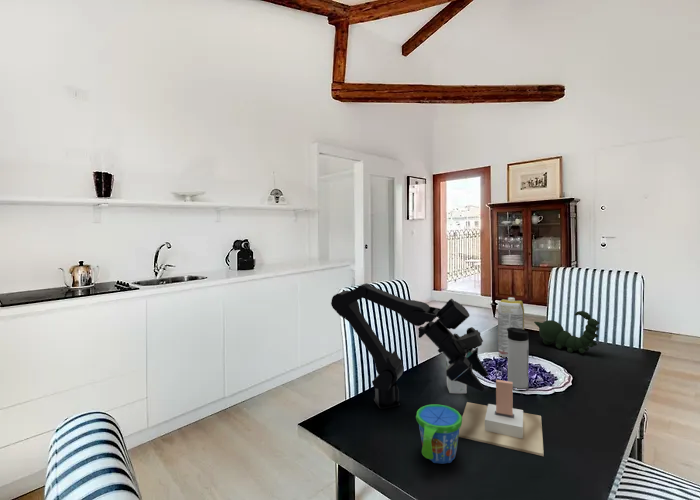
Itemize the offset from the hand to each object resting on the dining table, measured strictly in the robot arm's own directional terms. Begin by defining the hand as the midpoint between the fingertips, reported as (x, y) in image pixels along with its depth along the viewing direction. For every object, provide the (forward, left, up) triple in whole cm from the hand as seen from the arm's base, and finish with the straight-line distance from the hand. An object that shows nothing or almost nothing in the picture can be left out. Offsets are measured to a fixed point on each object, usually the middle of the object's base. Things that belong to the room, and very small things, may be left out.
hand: (485, 382), depth 97 cm
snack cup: (-19, -8, -12) cm, 24 cm away
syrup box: (+4, +20, -12) cm, 24 cm away
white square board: (+3, -3, -12) cm, 13 cm away
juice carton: (+41, +38, -12) cm, 57 cm away
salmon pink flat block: (+3, -3, -8) cm, 9 cm away
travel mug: (+24, +15, -12) cm, 30 cm away
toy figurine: (+66, +37, -12) cm, 77 cm away
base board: (+3, -3, -12) cm, 13 cm away
